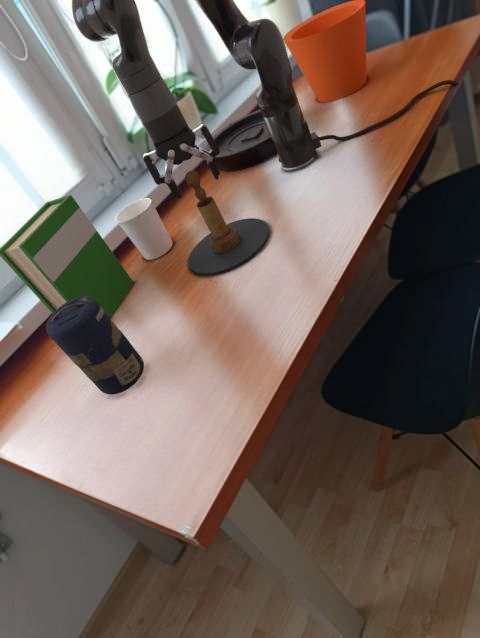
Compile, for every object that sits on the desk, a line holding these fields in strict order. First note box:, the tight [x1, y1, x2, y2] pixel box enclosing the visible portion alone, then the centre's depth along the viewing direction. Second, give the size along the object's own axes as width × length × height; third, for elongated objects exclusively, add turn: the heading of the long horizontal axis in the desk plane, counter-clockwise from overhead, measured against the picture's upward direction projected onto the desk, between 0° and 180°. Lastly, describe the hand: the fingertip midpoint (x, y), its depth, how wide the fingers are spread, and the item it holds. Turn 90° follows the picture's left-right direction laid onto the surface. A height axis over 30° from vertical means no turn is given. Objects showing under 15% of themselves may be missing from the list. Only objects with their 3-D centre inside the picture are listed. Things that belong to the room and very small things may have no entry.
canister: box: [45, 296, 145, 396], centre depth 84 cm, size 10×10×18 cm
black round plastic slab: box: [204, 109, 278, 172], centre depth 146 cm, size 30×6×30 cm
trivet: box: [187, 217, 271, 277], centre depth 109 cm, size 20×20×1 cm
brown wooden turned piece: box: [184, 170, 240, 253], centre depth 104 cm, size 7×6×18 cm
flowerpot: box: [282, 0, 368, 103], centre depth 148 cm, size 25×25×20 cm
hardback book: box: [0, 194, 135, 318], centre depth 105 cm, size 18×7×24 cm, turn 161°
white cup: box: [114, 197, 174, 261], centre depth 120 cm, size 10×10×12 cm
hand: (198, 187), depth 100 cm, fingers open, 8 cm apart
